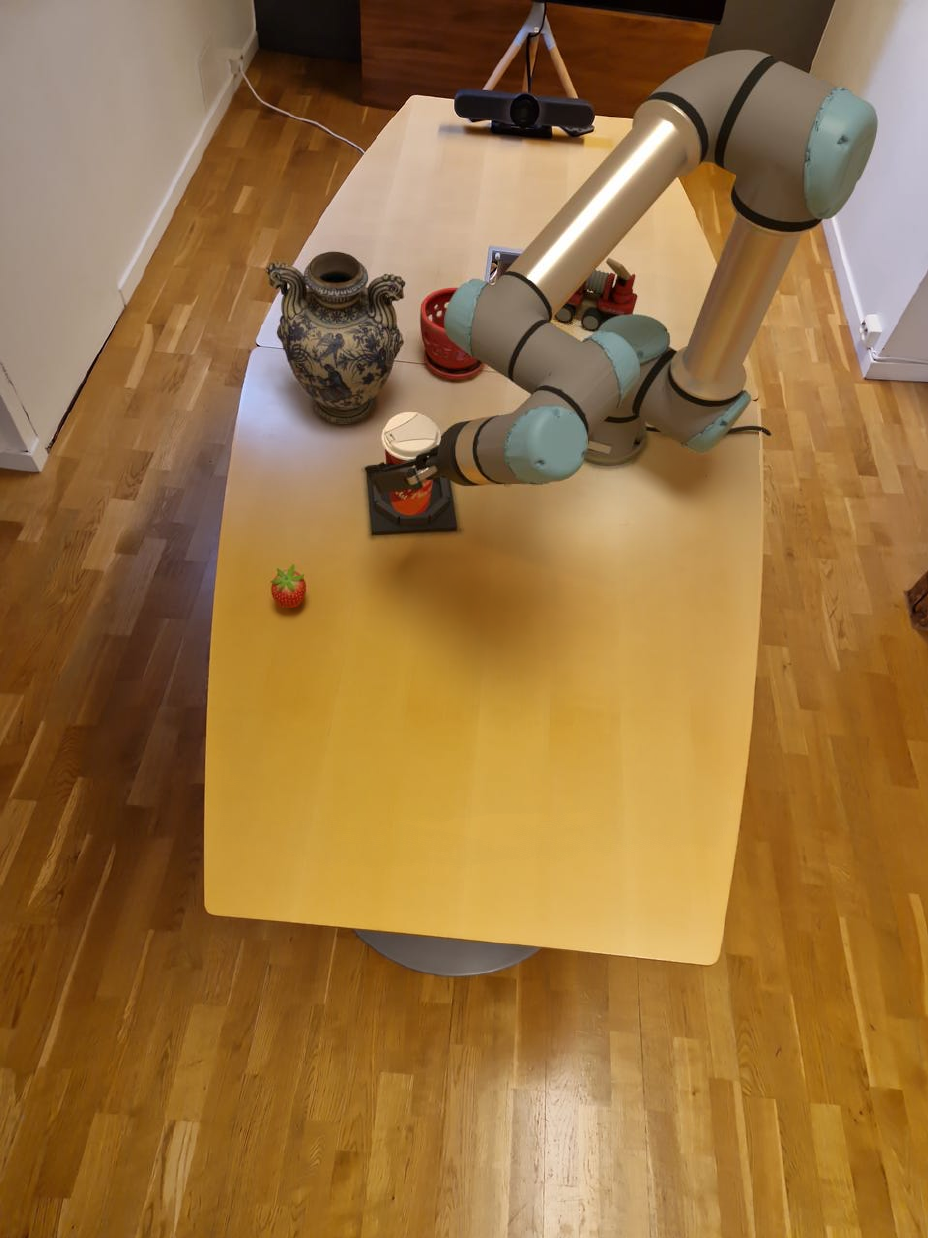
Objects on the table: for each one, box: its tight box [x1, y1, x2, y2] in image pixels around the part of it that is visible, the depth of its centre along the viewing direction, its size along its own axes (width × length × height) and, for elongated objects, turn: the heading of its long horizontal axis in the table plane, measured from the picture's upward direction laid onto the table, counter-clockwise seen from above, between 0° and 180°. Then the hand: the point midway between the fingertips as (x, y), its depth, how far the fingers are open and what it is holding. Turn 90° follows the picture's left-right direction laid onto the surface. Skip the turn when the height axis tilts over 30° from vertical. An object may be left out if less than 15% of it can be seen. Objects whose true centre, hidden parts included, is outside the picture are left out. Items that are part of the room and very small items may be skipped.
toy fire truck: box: [554, 257, 638, 332], centre depth 156 cm, size 11×16×18 cm
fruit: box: [270, 563, 307, 608], centre depth 122 cm, size 5×5×8 cm
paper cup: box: [381, 411, 442, 515], centre depth 110 cm, size 8×8×14 cm
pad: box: [365, 465, 458, 536], centre depth 136 cm, size 14×14×3 cm
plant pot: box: [419, 287, 485, 380], centre depth 150 cm, size 13×13×12 cm
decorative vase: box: [265, 251, 406, 425], centre depth 135 cm, size 21×19×28 cm
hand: (395, 461), depth 113 cm, fingers closed on paper cup, 8 cm apart
